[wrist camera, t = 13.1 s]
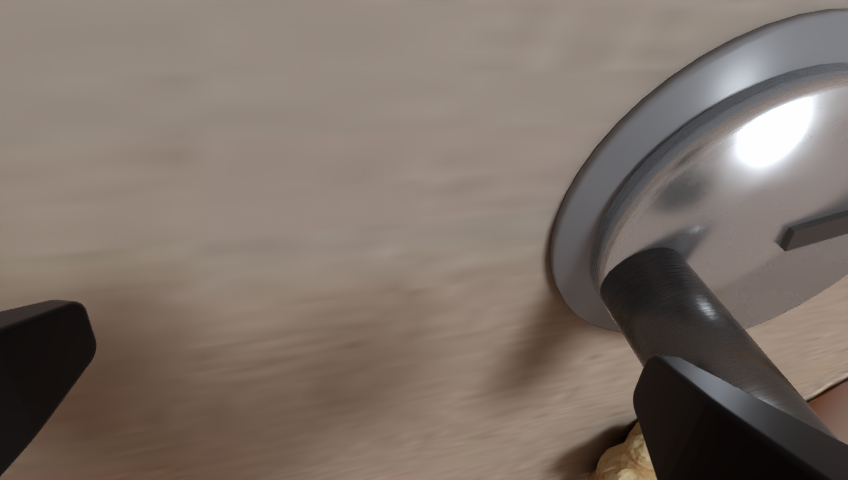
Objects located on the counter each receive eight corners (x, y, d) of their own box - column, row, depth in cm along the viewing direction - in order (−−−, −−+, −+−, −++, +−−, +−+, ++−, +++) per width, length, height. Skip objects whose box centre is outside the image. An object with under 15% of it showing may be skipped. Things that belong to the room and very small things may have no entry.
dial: (989, 13, 16) (1611, 196, 9) (831, 276, 26) (1056, 473, 18) (588, 130, 16) (846, 416, 9) (580, 348, 26) (698, 576, 18)
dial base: (844, -114, 13) (910, -105, 12) (978, 154, 23) (1024, 177, 21) (474, 271, 21) (487, 305, 20) (684, 354, 31) (704, 380, 29)
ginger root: (516, 507, 41) (567, 611, 34) (592, 365, 35) (672, 458, 28) (648, 489, 47) (713, 575, 40) (733, 366, 41) (827, 443, 34)
